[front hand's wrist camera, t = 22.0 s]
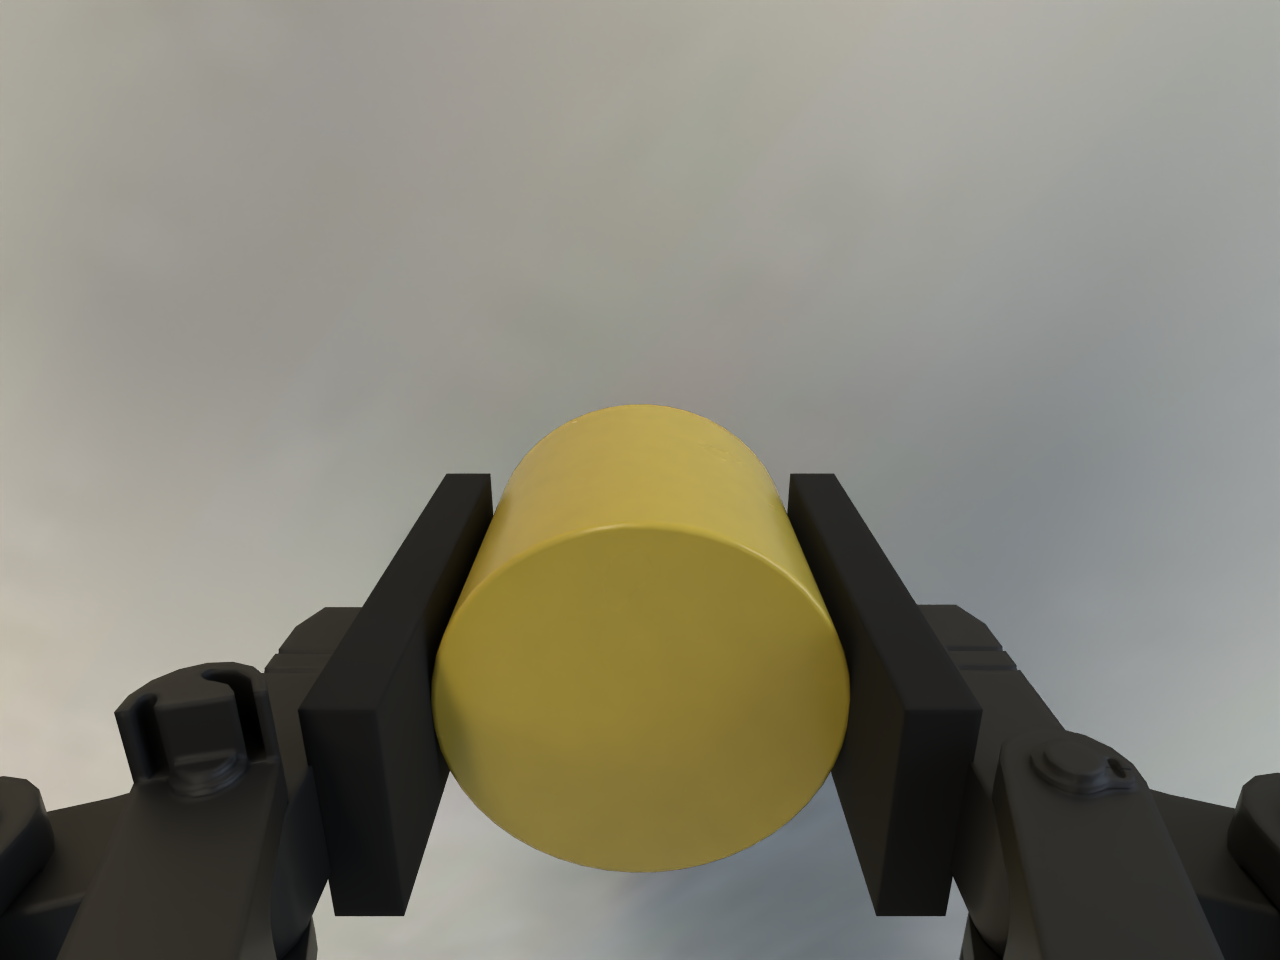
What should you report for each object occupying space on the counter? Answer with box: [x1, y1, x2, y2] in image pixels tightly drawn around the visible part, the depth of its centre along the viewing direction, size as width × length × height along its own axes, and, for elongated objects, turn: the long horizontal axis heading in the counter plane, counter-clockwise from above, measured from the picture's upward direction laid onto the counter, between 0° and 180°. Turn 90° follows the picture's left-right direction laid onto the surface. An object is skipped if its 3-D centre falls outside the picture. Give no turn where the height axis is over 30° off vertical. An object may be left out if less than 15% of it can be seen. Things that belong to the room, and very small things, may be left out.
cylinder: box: [431, 404, 850, 872], centre depth 12 cm, size 5×5×5 cm
